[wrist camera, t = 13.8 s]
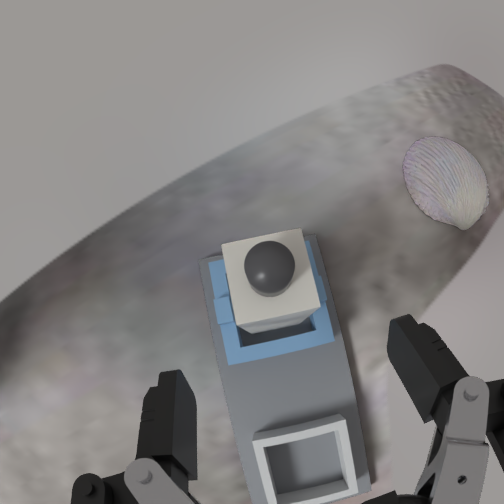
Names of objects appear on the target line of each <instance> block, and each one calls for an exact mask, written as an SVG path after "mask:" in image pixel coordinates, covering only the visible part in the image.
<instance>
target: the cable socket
mask: <svg viewBox="0 0 504 504" xmlns="http://www.w3.org/2000/svg"><path fill="white" fill-rule="evenodd" d="M303 238H304V242H305V246H306V249H307V253H308V257H309V261H310V265H311V269H312V273H313V277H314V281H315V285H316V289H317V293H318V297H319V301H320V306H321V307H320V308H319V309H317V310H316V311H315V312H314V313H312V314H311V315H310V316H309V317H307V318H306V319H305V320H304V321H303V322H301V323H300V324H297V325H293V326H288V327H284V328H279V329H275V330H270V331H265V332H260V333H255V334H251V333H249V332H247V331H246V330H244V329H242V328H241V327H239V326H237V325H236V321H235V315H234V310H233V305H232V300H231V295H230V289H229V284H228V279H227V273H226V268H225V262H224V257H223V254H222V255H217V256H213V257H208V258H204V259H199V260H198V261H199V267H200V272H201V278H202V284H203V290H204V295H205V301H206V306H207V311H208V317H209V322H210V327H211V332H212V337H213V342H214V347H215V352H216V357H217V362H218V366H219V371H220V376H221V380H222V385H223V389H224V394H225V398H226V403H227V407H228V411H229V415H230V420H231V424H232V428H233V432H234V436H235V440H236V444H237V448H238V452H239V456H240V460H241V464H242V468H243V471H244V475H245V479H246V482H247V486H248V490H249V493H250V497H251V500H252V504H328V503H332V502H336V501H340V500H343V499H346V498H350V497H353V496H356V495H359V494H363V493H366V492H369V491H371V483H370V476H369V470H368V463H367V457H366V451H365V445H364V439H363V433H362V428H361V422H360V417H359V412H358V407H357V402H356V397H355V392H354V387H353V382H352V377H351V373H350V368H349V363H348V359H347V354H346V350H345V346H344V341H343V337H342V333H341V329H340V324H339V320H338V316H337V312H336V308H335V304H334V300H333V297H332V293H331V289H330V285H329V281H328V278H327V274H326V270H325V266H324V263H323V259H322V256H321V252H320V249H319V245H318V242H317V238H316V235H315V234H312V235H308V236H303Z"/></svg>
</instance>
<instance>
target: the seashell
mask: <svg viewBox="0 0 504 504" xmlns="http://www.w3.org/2000/svg"><path fill="white" fill-rule="evenodd" d="M403 165H404V166H403V170H404V179H405V182H406V183H407V184H406V187H407V189H408V192H409V193H410V194H411V198H412V199H413V200H414V201H415V204H417V205H418V206H419V209H421V210H423V211H424V212H425V214H426V215H428V216H430V217H432V219H433V220H438V221H439V222H440V221H441V222H443V223H447V224H450V225H454V226H456V227H458V228H459V229H461V230H467V229H468V228H470V227H471V226H472V225H473V224H474V223H475V222H476V221H477V220H480V216H481V215H483V213H484V214H485V212H486V207H487V206H488V203H489V198H488V195H490V194H488V190H489V189H488V188H487V186H488V185H489V184H487V181H486V180H487V179H486V177H485V176H486V175H485V173H484V171H483V169H482V167H481V166H480V163H479V162H478V161H477V159H475V157H474V156H473V155H472V154H470V153H469V152H468V151H467V150H466V149H465V148H464V147H462V146H460V145H459V144H458V143H455V142H453V141H451V140H448V139H445V138H442V137H436V136H434V137H432V136H429V137H425V138H422V139H420V140H417V141H415V143H414V144H412V146H411V147H410V150H408V151H407V153H406V156H405V158H404V161H403Z"/></svg>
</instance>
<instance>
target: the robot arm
mask: <svg viewBox="0 0 504 504" xmlns="http://www.w3.org/2000/svg"><path fill="white" fill-rule="evenodd" d="M387 353H388V357H389V359H390V362H391V363H392V365H393V366H394V369H395V370H396V372H397V374H398V376H399V377H400V379H401V381H402V383H403V385H404V386H405V388H406V390H407V392H408V394H409V395H410V397H411V399H412V401H413V403H414V405H415V407H416V408H417V410H418V412H419V414H420V416H421V418H422V420H423V421H424V423H427V422H429V421H431V420H434V421H435V423H436V427H435V430H434V434H433V439H432V443H431V446H430V451H429V454H428V458H427V461H426V464H425V468H424V470H423V473H422V475H421V477H420V479H419V481H418V484H417V486H416V489H415V492H414V495H410V494H405V495H397V494H396V492H395V491H392V492H389V493H387V494H384V495H382V496H379V497H376V498H373V499H370V500H368V501H365V502H363V503H362V504H479V500H480V496H481V492H482V487H483V482H484V478H485V472H486V467H487V462H488V456H489V445H488V443H485V434H486V436H487V438H488V440H489V442H490V444H491V446H492V447H493V450H494V452H495V454H496V456H497V458H498V460H499V463H500V465H501V467H502V469H503V471H504V379H501V380H496V381H491V382H484V381H483V380H482V379H480V378H478V377H473V376H469V375H468V374H467V373H466V371H465V370H464V368H463V367H462V366H461V364H460V363H459V361H457V359H456V357H455V356H454V355H453V354H452V352H451V351H450V349H449V348H447V345H446V344H445V343H444V341H443V340H441V337H440V336H439V335H438V333H437V332H436V331H435V330H434V329H433V328H431V327H430V326H428V325H427V324H425V323H421V324H418V323H417V322H416V321H415V319H414V318H413V317H412V316H411V315H410V314H407V315H404V316H401V317H398V318H395V319H392V320H391V321H390V326H389V335H388V343H387ZM142 411H143V412H142V414H141V422H140V429H139V437H138V445H137V454H136V458H135V461H133V462H132V463H130V464H129V465H128V467H127V468H126V470H125V471H124V472H122V473H120V474H116V475H113V476H109V477H106V478H102V479H101V478H100V477H99V476H97V475H95V474H91V473H87V474H83V475H81V476H80V477H78V478H77V479H76V481H75V482H74V485H73V489H72V498H71V504H201V503H200V502H199V501H198V500H197V499H196V498H195V497H194V496H193V495H192V494H191V492H190V491H189V490H188V481H189V480H197V405H196V399H195V396H194V393H193V391H192V389H191V388H190V386H189V384H188V382H187V380H186V379H185V377H184V375H183V373H182V371H181V370H172V371H166V372H161V373H160V374H159V380H158V386H157V387H150V389H149V390H148V392H147V394H146V395H145V397H144V400H143V407H142Z"/></svg>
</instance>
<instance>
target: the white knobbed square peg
mask: <svg viewBox="0 0 504 504" xmlns="http://www.w3.org/2000/svg"><path fill="white" fill-rule="evenodd" d="M221 246H222V251H223V257H224V262H225V268H226V273H227V279H228V284H229V289H230V295H231V300H232V305H233V310H234V315H235V321H236V325H237V326H239V327H241V328H242V329H244V330H246V331H247V332H249V333H251V334H255V333H260V332H265V331H270V330H275V329H279V328H284V327H288V326H293V325H297V324H300V323H301V322H303V321H304V320H305V319H306V318H307V317H309V316H310V315H311V314H312V313H314V312H315V311H316V310H317V309H319V308H320V307H321V306H320V301H319V297H318V293H317V289H316V285H315V281H314V277H313V273H312V269H311V265H310V261H309V257H308V253H307V249H306V246H305V242H304V238H303V234H302V231H301V228H297V229H292V230H287V231H282V232H277V233H273V234H268V235H263V236H258V237H254V238H249V239H244V240H239V241H235V242H230V243H225V244H221Z"/></svg>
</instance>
